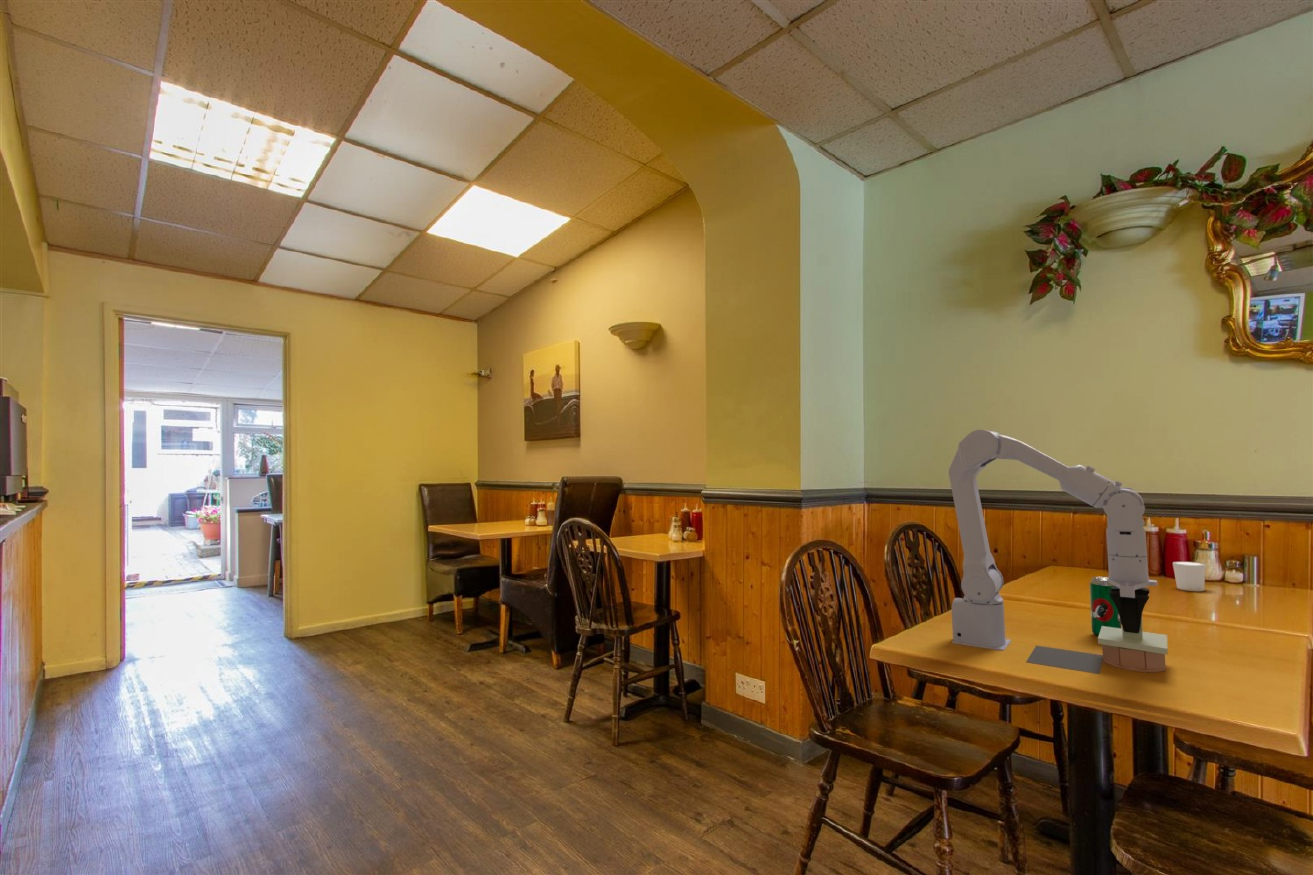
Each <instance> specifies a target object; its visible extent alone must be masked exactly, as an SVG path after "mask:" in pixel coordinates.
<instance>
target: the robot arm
mask: <svg viewBox="0 0 1313 875" xmlns="http://www.w3.org/2000/svg"><path fill="white" fill-rule="evenodd" d="M997 459H998V460H1010V461H1011V460H1012V461H1013V460H1014V461H1019V462H1021V463H1022V464H1025V465H1027V466H1028V467H1031V468H1032V469H1034V470H1037V471H1039V472H1041V473H1043V474H1045V475H1047V476H1048V477H1051V478H1053V479H1054V480H1057V481H1058V482H1059V484H1060V485H1059V486H1060V489H1061V490H1062V491H1063V492H1066V493H1067V494H1069V495H1070V496H1073V497H1074V498H1075V499H1076V498H1077V499H1078V500H1080V501H1081V502H1084V503H1086V504H1088V506H1092V507H1093V508H1095V509H1098V508H1099V509H1100V508H1101V509H1103V511H1104V513H1105V515H1106V516H1107V517H1106V520H1107V527H1106V530H1105V532H1106V548H1107V565H1108V582H1109V583H1111V584H1113V585H1114V586H1116V587H1111V590H1112V591H1109V595H1110V597H1111V599H1112V600H1113V602H1114V603H1115V605H1116V608H1117V610H1118V613H1119V617H1120V620H1121V628H1122V627H1123V630H1124V632H1130V633H1139V630H1140V625H1141V618H1142V619H1143V612H1144V610H1145V609H1144V608H1145V606H1146V604H1147V602H1148V601H1149V599H1150V595H1149V594H1150V589H1149V588H1147V587H1150V586H1154V587H1155V586H1156V587H1157V586H1158V581H1157V580H1155V579H1149V567H1148V565H1149V564H1148V549H1147V548H1148V546H1147V534H1146V530H1145V529H1144V528H1145V520H1144V518H1143V515H1144V513H1145V511H1146V506H1145V502H1144V499H1143V498H1142V496H1141V495H1140V494H1139V493H1138V492H1137V491H1135V490H1134V489H1133V488H1131V487H1127V486H1124V487H1123V486H1122V485H1123V482H1121V481H1119V480H1116V481H1114V480H1111V479H1109V478H1107V477H1105V476H1103V475H1102V474H1099V473H1098V472H1095V470H1096V468H1095V467H1093V466H1091V465H1087V466H1086V467H1085V466H1083V465H1082V464H1076V465H1071V466H1067V465H1066V464H1064V463H1062V462H1060V461H1058V460H1057V459H1055V458H1053V457H1051V456H1049V455H1047V454H1046V453H1043V451H1042V452H1041V451H1040V450H1038V449H1037V448H1034V447H1033V446H1030V445H1029V444H1027V443H1025V442H1023V441H1021V440H1019V439H1016V438H1013V437H1011V436H1008V435H1003V434H1001V433H999V432H997V431H995V430H990V429H989V430H987V429H975V430H973V431H970V432H969V433H967V435H966V436H965V437H964V438H963V439H962V440H961V441H960V442H958V447H957V450H956V453H955V455H954V456H953V459H952V462H951V464H950V466H949V468H948V476H949V477H948V478H949V482H950V486H951V487H950V488H951V492H952V497H953V498H952V499H953V504H954V507H955V509H954V510H955V514H956V518H957V519H956V520H957V525H958V529H959V536H960V540H961V546H962V552H963V559H962V560H963V561H962V570H963V575H962V579H961V583H960V587H961V588H960V589H961V590H962V592H963V593H962V594H964V595H963V598H962V597H954V599H953V601H952V604H951V623H952V626H951V628H952V644H956V645H957V644H958V645H963V646H970V647H976V648H982V649H989V650H994V651H1005V650H1006V648H1007V647H1009V645H1010V643H1011V642H1012V640H1011V639H1010V638H1006V626H1005V625H1006V624H1005V623H1006V622H1005V607H1004V598H1003V597H1002V596H1001V594H1000V591H1001V590H1002V589H1003V586H1004V577H1003V575H1002V573H1001V571H1000V570H999V569H998V568H997V565H996V561H995V558H994V556H993V554H992V552H991V550H990V543H989V540H988V538H989V537H988V534H987V529H986V528H987V527H986V522H985V518H984V513H983V507H982V502H981V498H980V493H979V492H980V491H979V486H978V480H977V476H978V475H979V474H980V473H981V472H982V471H983V470H984V469H985V467H986V466H987V465H989V464H990V463H992V462H993V461H995V460H997Z"/></svg>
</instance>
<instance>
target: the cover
mask: <svg viewBox="0 0 1313 875" xmlns="http://www.w3.org/2000/svg"><path fill="white" fill-rule="evenodd" d="M1121 628H1122V629H1120V628H1113V627H1106V626H1102V627H1101V630H1100V633H1099V636H1097V643H1098V645H1102V644H1103V645H1109V646H1115V647H1122V648H1128V649H1135V650H1141V651H1147V652H1154V653H1160V654H1165V655H1168V652H1169V651H1168V635H1167V634H1162V633H1155V632H1149V631H1148V632H1147V631H1143V630H1144V629H1143V617H1142V618H1141V625H1140V630H1139V633H1130V632H1124V630H1123V627H1122V626H1121Z"/></svg>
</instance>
